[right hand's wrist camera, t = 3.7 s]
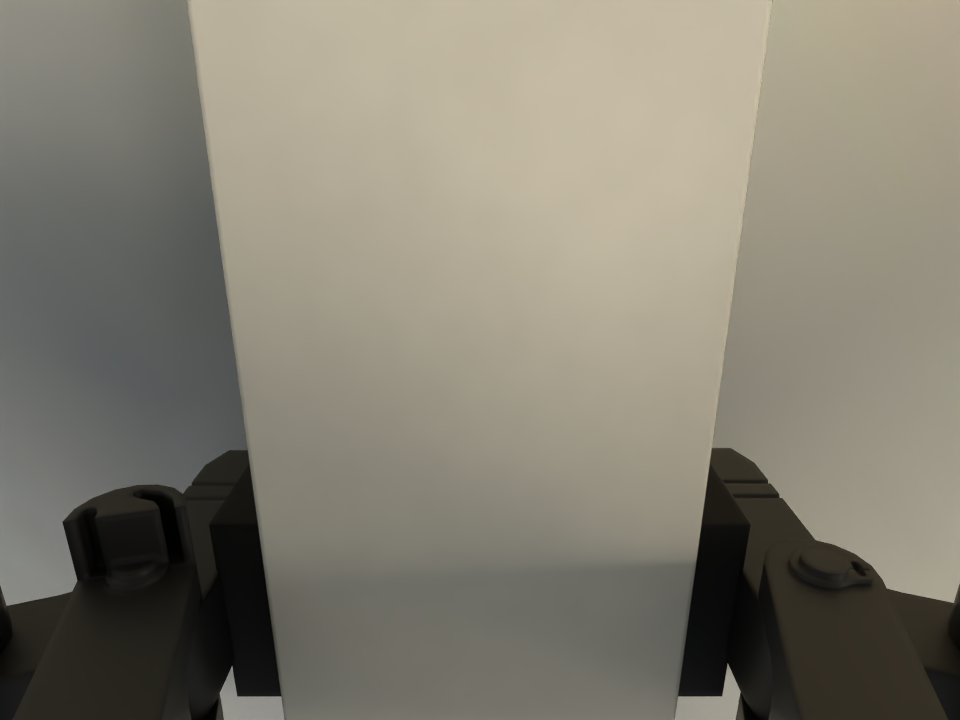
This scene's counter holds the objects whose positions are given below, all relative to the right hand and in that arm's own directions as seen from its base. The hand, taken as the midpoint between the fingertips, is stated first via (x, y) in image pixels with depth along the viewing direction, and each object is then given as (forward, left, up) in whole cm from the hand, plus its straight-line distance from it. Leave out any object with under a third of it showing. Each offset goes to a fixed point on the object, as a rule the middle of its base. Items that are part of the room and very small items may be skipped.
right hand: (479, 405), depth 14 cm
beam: (+2, -18, -1) cm, 18 cm away
